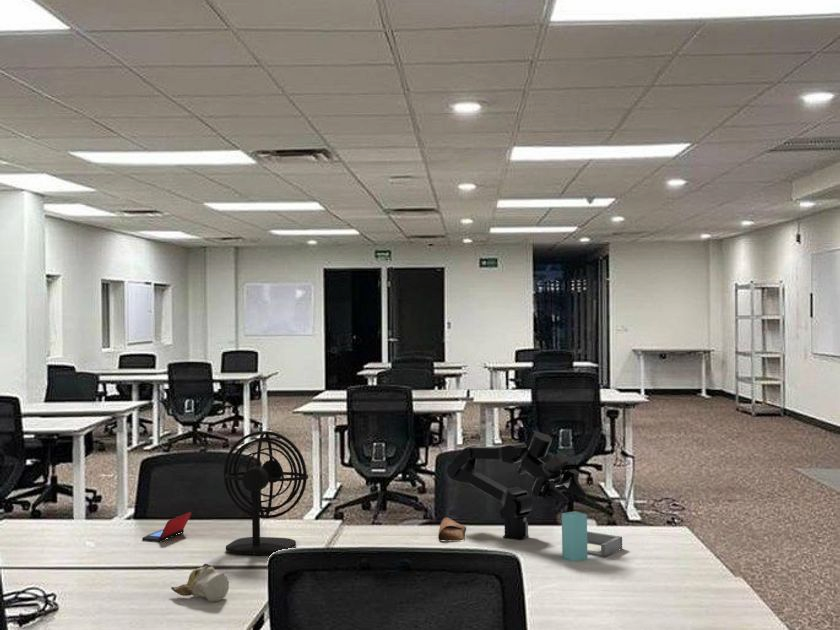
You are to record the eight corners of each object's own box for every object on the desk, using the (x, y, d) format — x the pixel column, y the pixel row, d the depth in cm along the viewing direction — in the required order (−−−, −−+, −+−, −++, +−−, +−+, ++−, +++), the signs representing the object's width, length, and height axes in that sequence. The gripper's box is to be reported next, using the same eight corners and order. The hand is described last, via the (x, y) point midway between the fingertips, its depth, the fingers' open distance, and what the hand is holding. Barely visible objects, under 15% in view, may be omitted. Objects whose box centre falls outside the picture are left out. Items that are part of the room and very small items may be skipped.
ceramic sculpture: (205, 571, 205) (167, 565, 214) (207, 608, 204) (169, 600, 213) (240, 561, 213) (202, 556, 222) (241, 597, 213) (204, 589, 222)
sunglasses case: (466, 541, 262) (454, 522, 263) (446, 552, 263) (435, 534, 263) (466, 527, 280) (455, 509, 281) (448, 537, 281) (437, 520, 281)
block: (562, 557, 244) (561, 513, 244) (576, 554, 246) (575, 511, 246) (573, 561, 239) (573, 516, 239) (587, 558, 242) (586, 514, 242)
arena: (570, 551, 250) (569, 539, 250) (587, 542, 258) (587, 531, 258) (605, 557, 243) (604, 544, 243) (622, 548, 252) (622, 536, 252)
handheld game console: (165, 531, 281) (164, 509, 281) (192, 534, 278) (192, 511, 278) (140, 541, 270) (140, 517, 270) (169, 544, 266) (168, 520, 266)
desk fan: (315, 542, 264) (313, 429, 264) (295, 557, 247) (293, 437, 247) (233, 539, 270) (231, 428, 270) (208, 554, 253) (207, 435, 253)
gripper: (528, 451, 252) (568, 480, 242) (565, 443, 265) (604, 471, 255) (516, 483, 255) (554, 513, 245) (553, 474, 268) (591, 502, 258)
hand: (577, 498), depth 251 cm, fingers open, 9 cm apart
